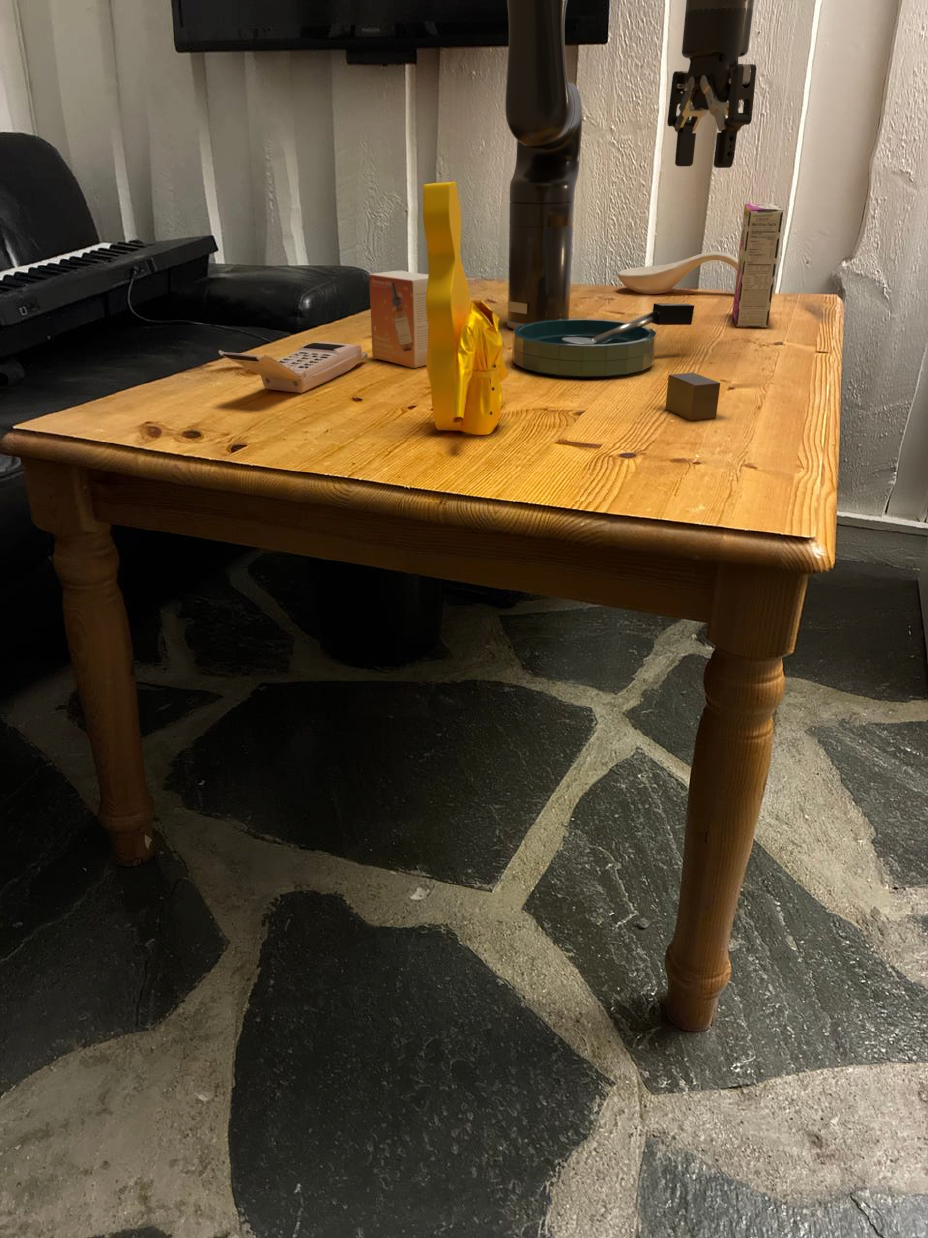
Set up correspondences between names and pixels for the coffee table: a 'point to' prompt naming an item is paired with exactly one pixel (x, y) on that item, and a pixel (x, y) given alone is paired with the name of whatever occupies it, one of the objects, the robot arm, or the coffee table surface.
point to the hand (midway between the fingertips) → (702, 166)
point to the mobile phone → (302, 365)
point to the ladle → (642, 323)
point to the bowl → (582, 349)
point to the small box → (399, 317)
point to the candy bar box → (757, 264)
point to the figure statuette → (458, 326)
